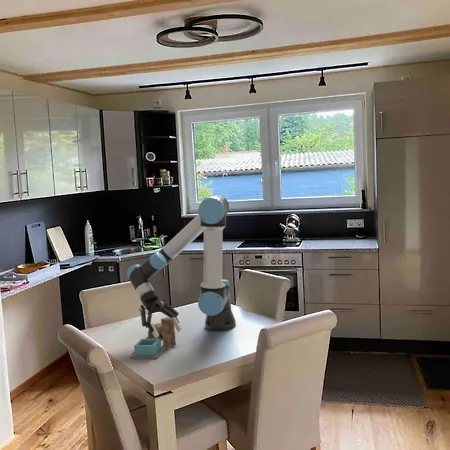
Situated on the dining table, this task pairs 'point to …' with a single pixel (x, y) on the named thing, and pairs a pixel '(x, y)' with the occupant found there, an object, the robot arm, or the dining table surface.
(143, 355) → the teal square socket
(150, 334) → the bread roll
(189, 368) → the dining table surface
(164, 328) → the walnut post
